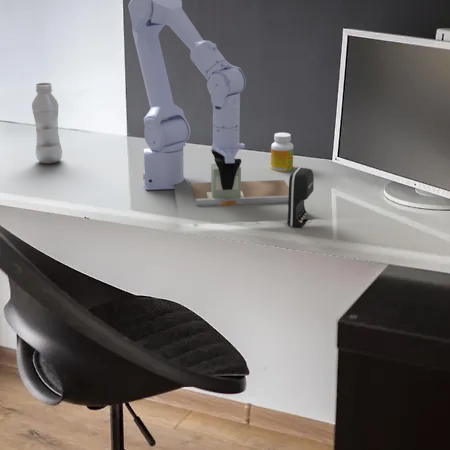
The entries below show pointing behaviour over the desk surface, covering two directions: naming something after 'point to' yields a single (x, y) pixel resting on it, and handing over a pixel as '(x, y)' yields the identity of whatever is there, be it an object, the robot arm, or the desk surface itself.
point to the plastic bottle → (46, 124)
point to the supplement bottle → (282, 153)
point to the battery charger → (299, 195)
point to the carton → (217, 187)
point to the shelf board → (244, 193)
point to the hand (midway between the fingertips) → (225, 185)
